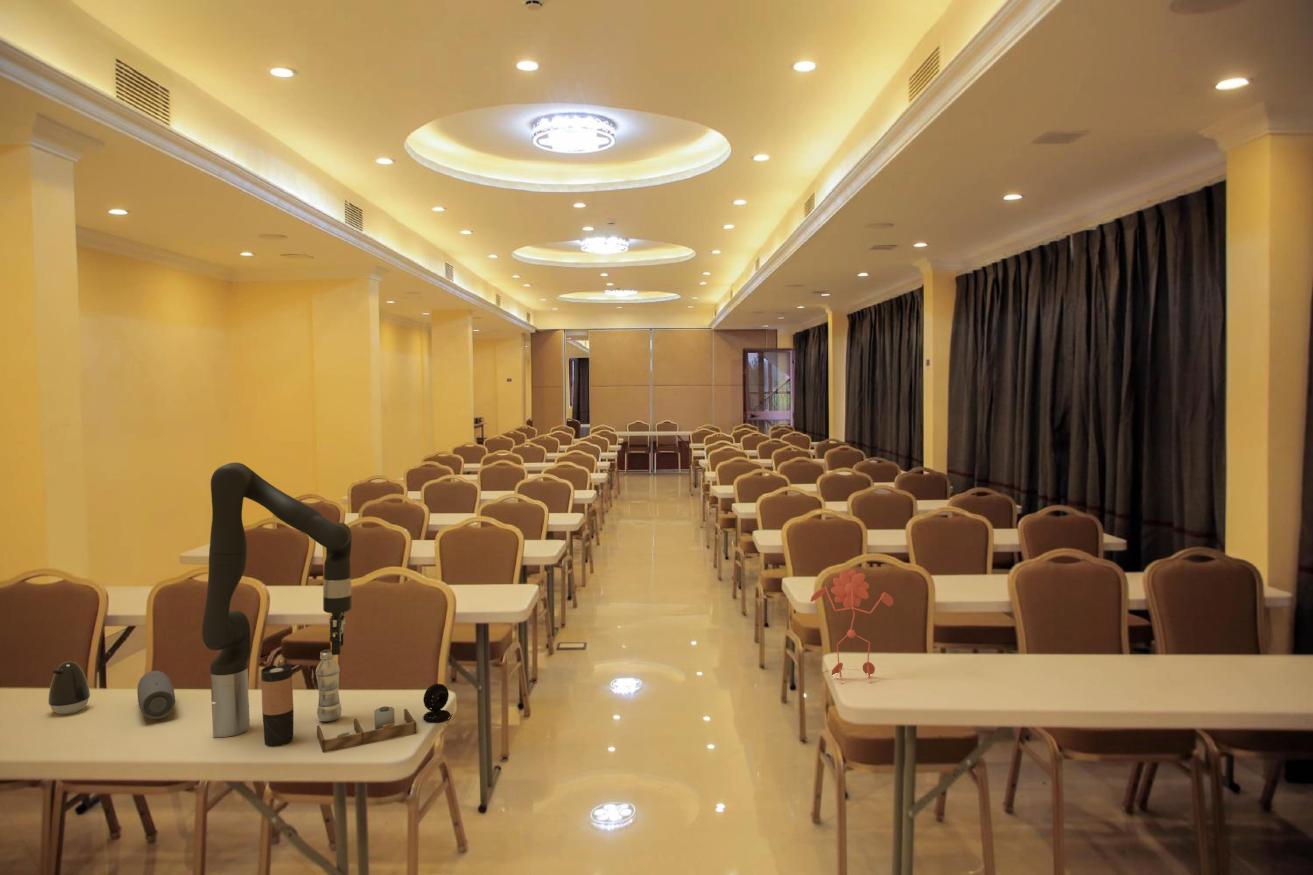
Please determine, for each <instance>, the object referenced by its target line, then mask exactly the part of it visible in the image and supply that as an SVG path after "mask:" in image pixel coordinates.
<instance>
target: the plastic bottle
mask: <svg viewBox="0 0 1313 875" xmlns="http://www.w3.org/2000/svg"><path fill="white" fill-rule="evenodd" d="M319 653H320V656H319V658H320V661H319V663H318V664H317V666H316V669H315V676H316V682H317V689H318V703H317V704H318V705H317V709H316V710H317V711H316V714H317V718H318V720H319V721H320V722H325V723H326V722H333V721H335V720H336V721H337V720H338V719H339V718H340V717H341V715H342V710H343V709H342V705H341V704H342V703H341V701H340V695H339V694H340V691H339V680H340V679H339V678H340V671H341V670H340V665H339V663H338V662H337V661H336V660H335V659H334V658H335V656H336V655H332V649H324V650H322V651H320V652H319Z"/></svg>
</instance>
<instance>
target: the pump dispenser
mask: <svg viewBox="0 0 1313 875" xmlns="http://www.w3.org/2000/svg"><path fill="white" fill-rule="evenodd" d="M51 672H52V673H53V677H52V678H51V682H50V687H49V691H48V702H47V703H48V705H49V706H50V708H51V710H52V711H53V712H54V713H56V714H57V715H65V716H66V715H71V714H75V713H78V712H80V711H82V710H83V709H85V707H86V706H87V704H88V702H89V698H90V697H91V692H90V686H89V682H88V680H87V677H86V674H85V672H84V671H83V669H82V668H81V666H80V665H79V664H78V663H77V662H76V661H71V660H69V661H64V662H62V663H60V664H59V666H58V667H57V668H56V669H52V671H51Z"/></svg>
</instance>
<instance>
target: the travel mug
mask: <svg viewBox="0 0 1313 875" xmlns="http://www.w3.org/2000/svg"><path fill="white" fill-rule="evenodd" d="M260 670H261V672H260V675H261V680H260V681H261V710H262V712H261V714H262V726H263V728H262V729H263V739H264V745H265V746H267V747H271V748H272V747H275V748H276V747H281V746H285V745H288V744H290V743H292V742H293V740H294V694H293V693H294V691H293V673H292V672H293V671H292V666H291V665H290V664H286V663H285V664H283V665H281V666H277V665H274V664H273V665H269V666H265V667H263V668H262V669H260Z"/></svg>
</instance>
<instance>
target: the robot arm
mask: <svg viewBox="0 0 1313 875" xmlns="http://www.w3.org/2000/svg"><path fill="white" fill-rule="evenodd" d="M210 493H211V495H210V496H211V507H212V510H211V512H212V515H211V526H210V538H209V550H208V552H209V553H208V576H207V577H208V579H207V588H206V600H205V607H204V612H203V620H202V626H201V636H202V641H203V643H204V645H205V647H206V648H208V649H209V650H211V651H220V652H219V653H218V655H217V656H216V657H215V658H214V659H213V660H212V661H211V663H210V666H209V671H210V688H211V689H210V693H211V698H210V700H211V719H212V721H211V722H212V724H211V725H212V737H213V738H226V737H227V738H228V737H233V736H234V737H235V736H238V735H241V734H243V733H246V732H248V731H249V730H250V728H251V724H250V721H251V719H250V702H249V701H250V698H249V675H248V674H249V672H248V671H249V670H248V664H249V663H248V661H249V659H250V655H251V625H250V621H249V619H248V617H247V615H246V614H245V613H244V612H243V611H240V610H231V611H230V609H231V608H230V606H231V601H232V599H233V595H234V593H235V591H236V589H237V587H238V585H239V584H240V581H241V579H242V577H243V575H244V574H245V571H246V565H247V555H248V554H247V553H248V552H247V551H248V544H247V542H248V541H247V536H246V532H245V527H244V522H243V516H242V514H243V504H244V498H245V499H249V500H251V501H253V502H255V503H257V504H259V505H260V506H262V507H263V508H265V509H266V510H268V511H269V513H272V514H273V515H274V516H275V517H276V518H277V519H278V520H280V522H281V521H282V522H283V523H285V524H286V525H288V526H290V527H292V528H294V529H296V530H297V531H299V532H301V533H303V534H305V535H306V536H308V537H310V539H312V540H313V541H314V542H317V544H319V545H321V546H322V547H323V548H325V549H326V550H325V553H326V554H325V555H326V556H325V559H324V565H323V585H322V593H323V596H322V597H323V598H322V599H323V600H322V601H323V602H322V606H323V607H322V608H323V609H322V610H323V612H325V613H327V614H329V613H330V614H331V616H330V618H329V619H328V620H329V621H328V623H329V642H331V650H332V655H335V656H337V655H340V654H341V647H342V646H344V644H345V642H344V641H345V640H344V637H345V636H344V632H345V628H346V615H345V613H346V612H348V611H350V610H352V605H353V604H352V581H351V553H352V552H351V550H352V536H353V535H352V531H351V528H350V527H349V525H348V524H346V523H343V522H335V523H333V522H332V521H330V520H329V519H327V518H325V517H324V516H323V514H322V513H321V512H319V511H317V509H314V508H312V507H311V506H309V505H307V504H305V503H304V502H302V501H299V500H298V499H296V498H294V497H292V496H290V495H289V494H287V493H285V492H284V491H282V490H280V489H279V488H277V487H275V486H274V485H272V484H271V483H269V482H268V481H267V480H265V479H264V478H262V476H260V475H259V474H258V473H257V472H255V471H254V470H252V469H251V468H250V467H248V465H245V464H244V463H242V462H241V463H240V462H230V463H227V464H224V465H221V466H220V467H218V468H217V469H215V470H214V472H213V474H212V476H211V479H210Z"/></svg>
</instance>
